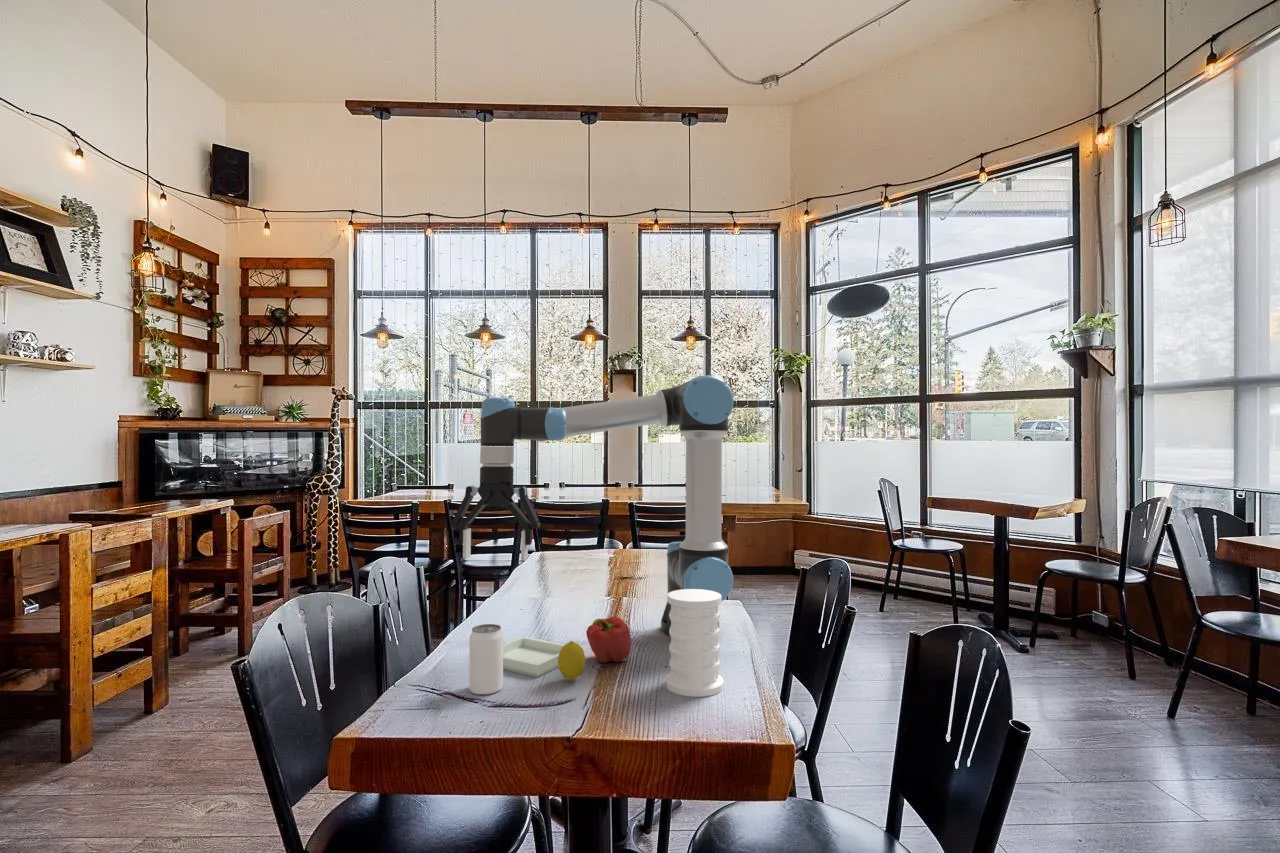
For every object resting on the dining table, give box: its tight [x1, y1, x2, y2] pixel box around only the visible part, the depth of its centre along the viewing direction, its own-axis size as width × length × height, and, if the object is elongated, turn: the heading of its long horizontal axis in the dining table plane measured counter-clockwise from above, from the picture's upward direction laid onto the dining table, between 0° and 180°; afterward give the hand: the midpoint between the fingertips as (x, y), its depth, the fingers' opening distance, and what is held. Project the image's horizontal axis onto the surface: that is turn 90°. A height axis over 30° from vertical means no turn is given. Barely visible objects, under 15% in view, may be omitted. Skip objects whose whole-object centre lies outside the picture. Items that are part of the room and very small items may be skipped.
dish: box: [503, 636, 565, 678], centre depth 141 cm, size 16×14×2 cm
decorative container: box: [665, 589, 725, 698], centre depth 126 cm, size 12×12×18 cm
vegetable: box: [585, 615, 632, 664], centre depth 141 cm, size 11×10×10 cm
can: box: [468, 623, 504, 696], centre depth 124 cm, size 6×6×12 cm
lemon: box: [558, 640, 586, 682], centre depth 129 cm, size 6×6×8 cm
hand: (495, 558), depth 144 cm, fingers open, 13 cm apart
